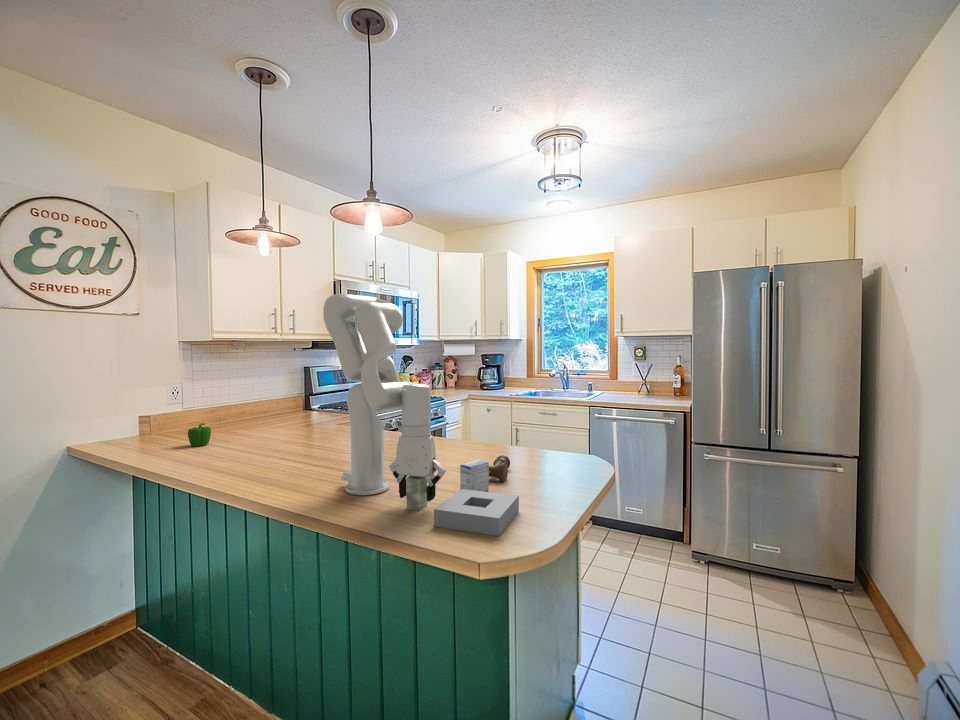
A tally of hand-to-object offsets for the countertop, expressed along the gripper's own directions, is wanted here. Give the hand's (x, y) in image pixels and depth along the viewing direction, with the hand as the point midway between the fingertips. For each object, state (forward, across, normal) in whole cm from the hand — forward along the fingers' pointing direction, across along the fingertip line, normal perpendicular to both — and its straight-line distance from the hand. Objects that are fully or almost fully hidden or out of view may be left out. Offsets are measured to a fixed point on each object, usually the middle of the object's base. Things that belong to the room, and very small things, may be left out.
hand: (417, 497), depth 114 cm
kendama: (+3, +10, +33) cm, 35 cm away
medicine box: (+3, +10, +16) cm, 19 cm away
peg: (+2, 0, 0) cm, 2 cm away
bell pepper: (+2, -127, +34) cm, 131 cm away
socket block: (+2, +18, -2) cm, 18 cm away
